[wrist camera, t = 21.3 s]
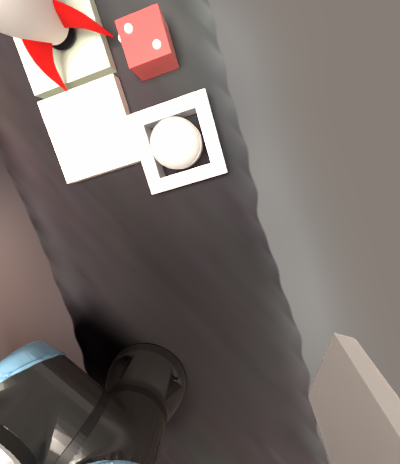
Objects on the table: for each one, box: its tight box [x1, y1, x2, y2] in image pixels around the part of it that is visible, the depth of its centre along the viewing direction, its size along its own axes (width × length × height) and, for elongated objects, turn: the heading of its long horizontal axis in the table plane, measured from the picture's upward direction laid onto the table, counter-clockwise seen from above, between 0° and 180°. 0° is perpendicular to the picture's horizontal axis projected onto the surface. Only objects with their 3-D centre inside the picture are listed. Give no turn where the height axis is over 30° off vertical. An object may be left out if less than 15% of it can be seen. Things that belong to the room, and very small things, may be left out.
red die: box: [115, 3, 179, 81], centre depth 40 cm, size 7×7×7 cm
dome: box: [150, 116, 203, 169], centre depth 41 cm, size 7×7×8 cm
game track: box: [13, 0, 141, 184], centre depth 45 cm, size 27×13×2 cm, turn 16°
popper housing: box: [127, 88, 228, 195], centre depth 44 cm, size 12×12×4 cm
